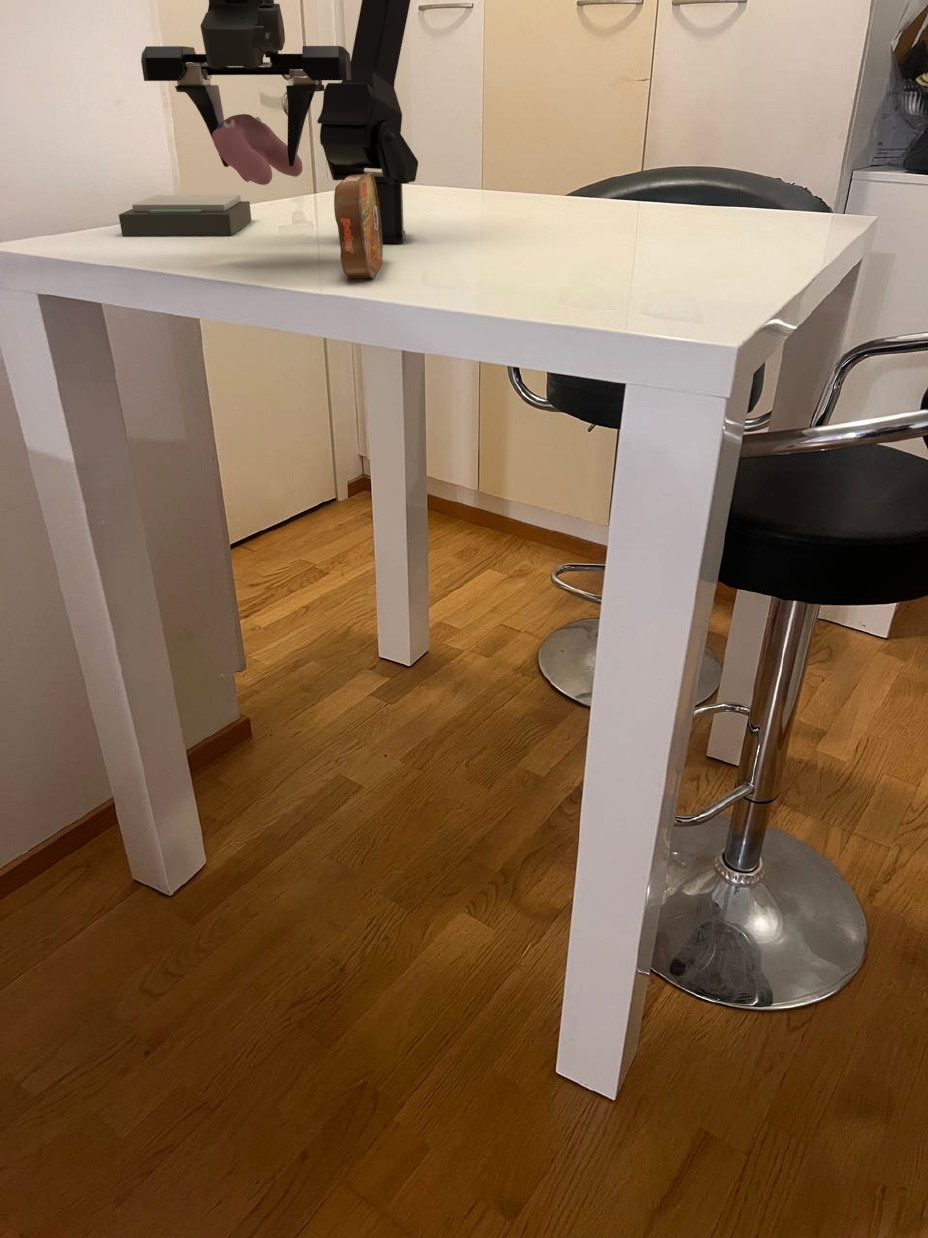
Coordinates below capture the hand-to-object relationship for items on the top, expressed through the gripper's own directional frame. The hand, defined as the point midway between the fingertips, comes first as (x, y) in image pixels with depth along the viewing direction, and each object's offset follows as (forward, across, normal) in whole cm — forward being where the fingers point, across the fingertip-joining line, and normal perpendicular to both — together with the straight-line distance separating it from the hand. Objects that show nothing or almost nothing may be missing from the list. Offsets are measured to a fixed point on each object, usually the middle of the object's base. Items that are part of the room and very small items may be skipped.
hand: (259, 166), depth 92 cm
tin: (+9, +10, -6) cm, 15 cm away
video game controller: (+2, 0, 0) cm, 2 cm away
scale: (+9, -14, +24) cm, 29 cm away
